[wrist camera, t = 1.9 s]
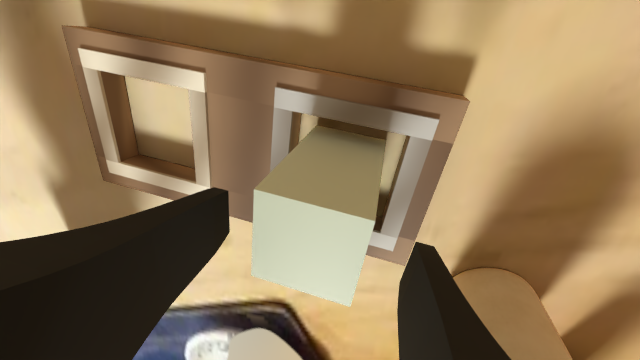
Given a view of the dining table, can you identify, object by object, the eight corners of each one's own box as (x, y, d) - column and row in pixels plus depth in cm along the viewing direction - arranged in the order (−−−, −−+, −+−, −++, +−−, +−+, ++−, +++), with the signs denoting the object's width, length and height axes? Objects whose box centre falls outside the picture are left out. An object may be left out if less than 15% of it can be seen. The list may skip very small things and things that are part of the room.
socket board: (121, 171, 22) (100, 181, 20) (87, 26, 17) (57, 25, 15) (404, 249, 18) (404, 268, 17) (463, 95, 13) (471, 102, 12)
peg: (308, 184, 18) (251, 275, 11) (316, 125, 16) (254, 189, 9) (369, 200, 17) (350, 307, 10) (385, 140, 15) (375, 221, 8)
